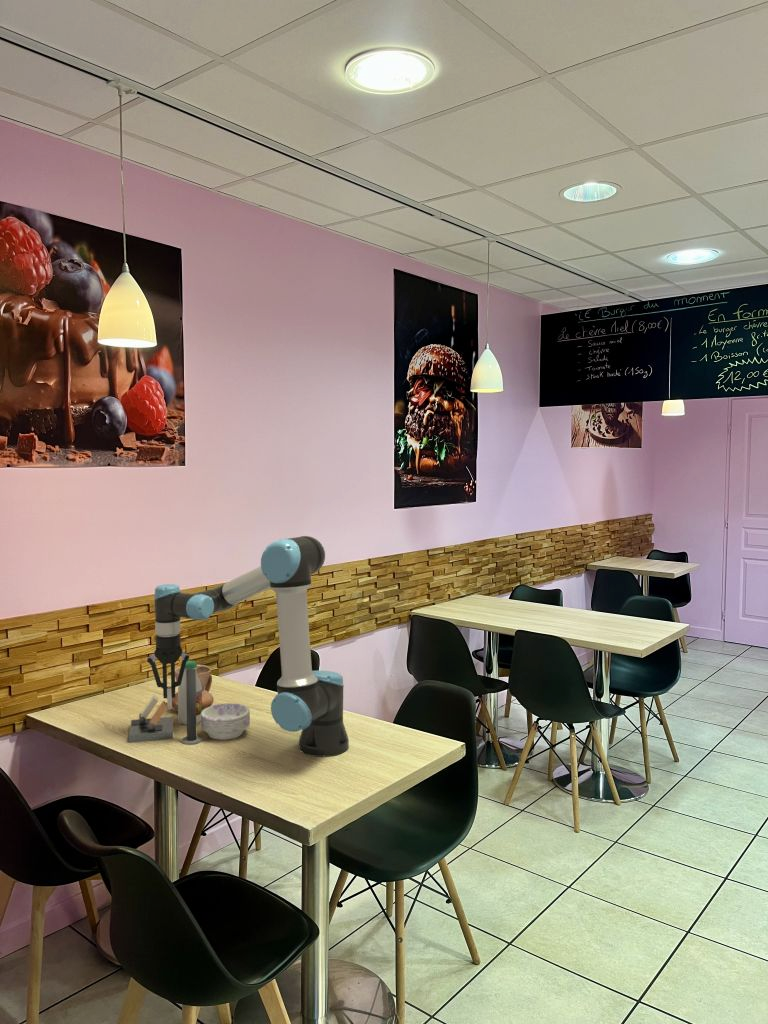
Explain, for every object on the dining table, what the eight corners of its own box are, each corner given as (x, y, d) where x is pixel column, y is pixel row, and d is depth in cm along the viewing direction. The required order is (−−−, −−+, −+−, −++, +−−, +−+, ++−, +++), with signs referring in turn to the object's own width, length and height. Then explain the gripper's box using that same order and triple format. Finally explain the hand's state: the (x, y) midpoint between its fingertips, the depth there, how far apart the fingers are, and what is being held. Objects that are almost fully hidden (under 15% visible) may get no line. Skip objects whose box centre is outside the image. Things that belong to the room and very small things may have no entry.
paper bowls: (200, 745, 231) (200, 720, 230) (201, 728, 245) (200, 704, 245) (251, 741, 234) (251, 716, 234) (248, 725, 249) (248, 701, 248)
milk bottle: (177, 726, 247) (176, 665, 246) (178, 718, 255) (178, 659, 253) (201, 724, 249) (201, 664, 247) (202, 716, 256) (202, 658, 255)
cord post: (202, 743, 232) (201, 672, 230) (181, 745, 230) (181, 673, 229) (201, 736, 238) (200, 666, 236) (181, 738, 236) (180, 668, 235)
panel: (173, 738, 236) (173, 730, 236) (129, 742, 232) (129, 734, 232) (173, 723, 249) (173, 716, 249) (131, 727, 246) (131, 719, 246)
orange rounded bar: (152, 731, 236) (168, 707, 237) (146, 728, 235) (162, 704, 236) (152, 726, 240) (168, 703, 241) (147, 723, 240) (162, 700, 240)
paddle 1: (142, 724, 242) (158, 701, 242) (137, 721, 241) (153, 698, 242) (143, 719, 246) (158, 697, 247) (138, 716, 246) (153, 694, 246)
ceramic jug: (189, 719, 254) (190, 677, 253) (158, 711, 261) (159, 670, 260) (226, 705, 269) (227, 666, 268) (196, 698, 276) (197, 660, 276)
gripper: (189, 630, 243) (190, 702, 244) (147, 632, 239) (148, 705, 241) (189, 635, 235) (190, 709, 237) (146, 638, 232) (147, 713, 234)
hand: (169, 707), depth 239 cm, fingers closed
